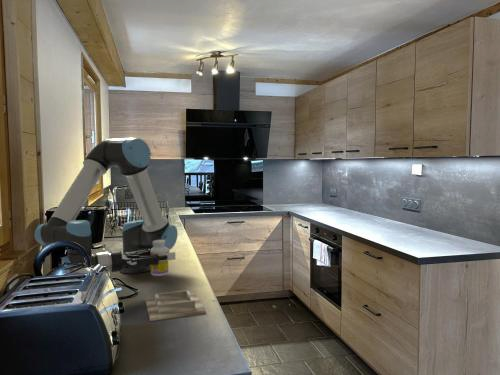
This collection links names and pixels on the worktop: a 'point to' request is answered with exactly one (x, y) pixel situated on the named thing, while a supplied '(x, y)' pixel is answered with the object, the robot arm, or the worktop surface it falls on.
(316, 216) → the worktop surface
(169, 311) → the holder board
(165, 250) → the supplement bottle
